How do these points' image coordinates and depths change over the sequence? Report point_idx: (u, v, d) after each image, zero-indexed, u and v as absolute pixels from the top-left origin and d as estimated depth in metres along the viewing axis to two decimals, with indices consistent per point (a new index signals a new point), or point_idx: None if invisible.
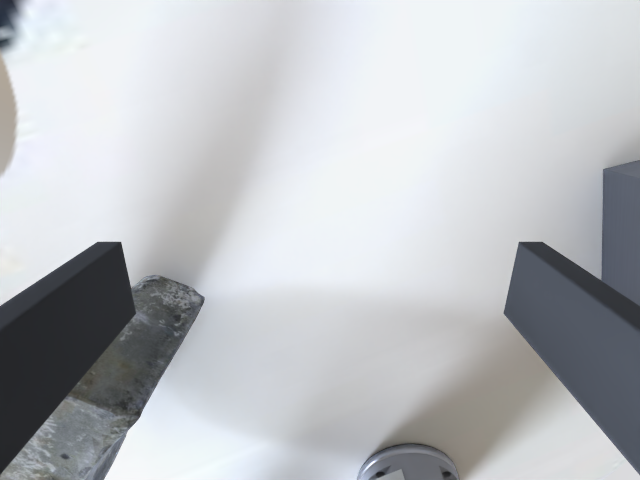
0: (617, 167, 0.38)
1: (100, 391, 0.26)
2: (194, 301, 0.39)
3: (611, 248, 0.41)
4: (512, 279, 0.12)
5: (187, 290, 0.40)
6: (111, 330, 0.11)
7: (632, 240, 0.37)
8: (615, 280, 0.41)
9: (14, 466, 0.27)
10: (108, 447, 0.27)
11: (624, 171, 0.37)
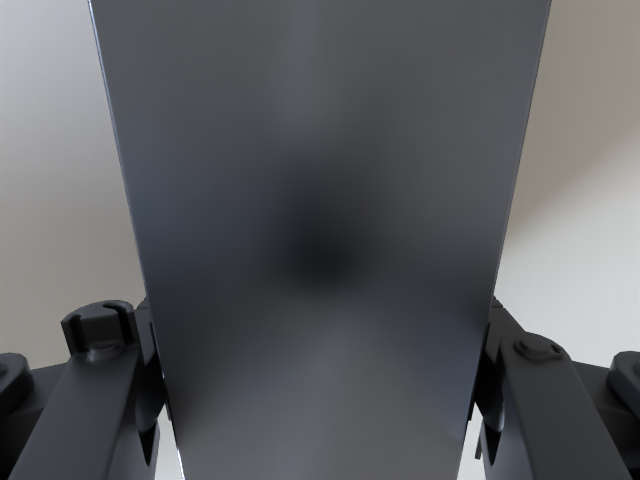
0: None
1: None
2: None
3: None
4: None
5: None
6: None
7: None
8: None
9: None
10: None
11: None
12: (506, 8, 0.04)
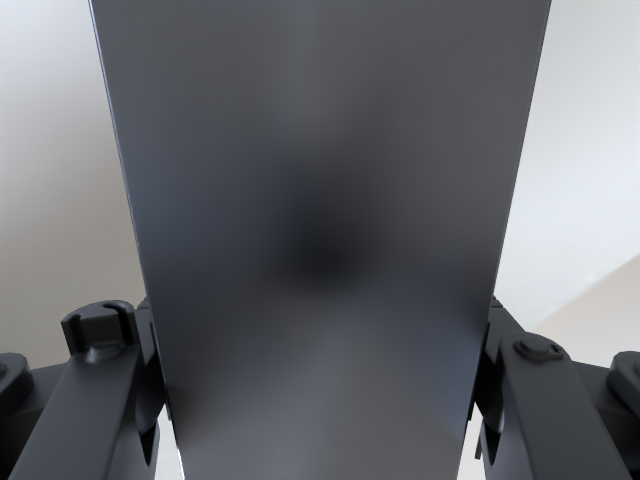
0: None
1: None
2: None
3: None
4: None
5: None
6: None
7: None
8: None
9: None
10: None
11: None
12: (506, 8, 0.04)
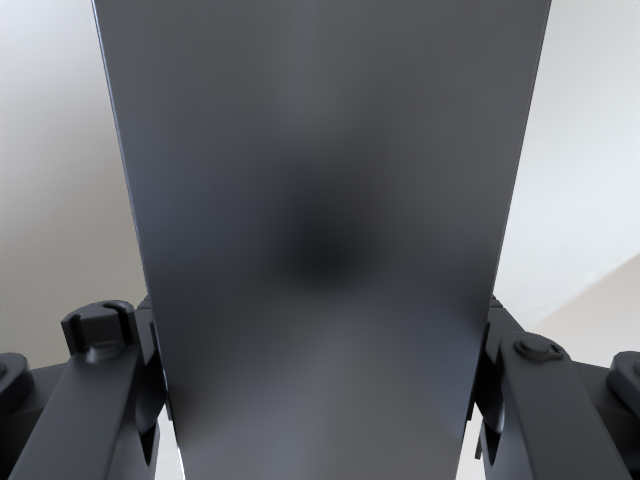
0: None
1: None
2: None
3: None
4: None
5: None
6: None
7: None
8: None
9: None
10: None
11: None
12: (506, 8, 0.04)
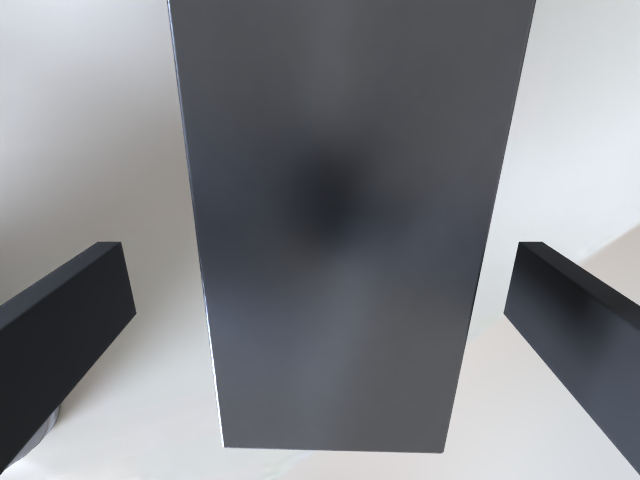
0: None
1: None
2: None
3: None
4: (512, 279, 0.12)
5: None
6: (111, 329, 0.11)
7: None
8: None
9: None
10: None
11: None
12: None
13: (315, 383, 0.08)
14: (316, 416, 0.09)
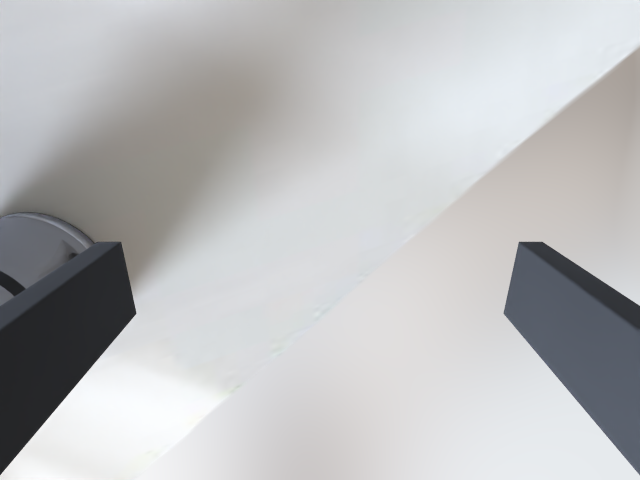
0: None
1: None
2: None
3: None
4: (512, 279, 0.12)
5: None
6: (111, 329, 0.11)
7: None
8: None
9: None
10: None
11: None
12: None
13: None
14: None
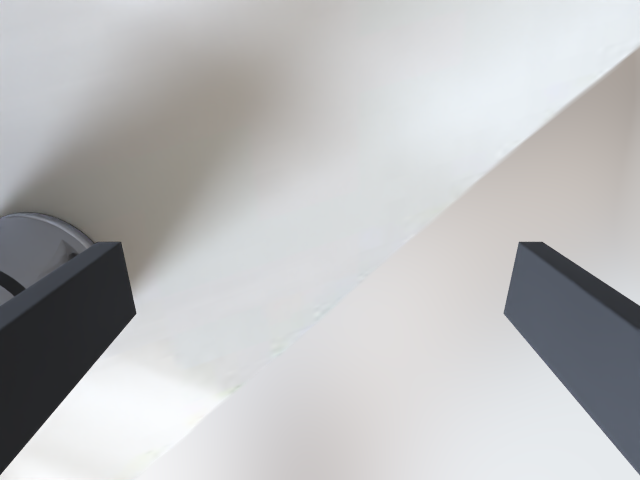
0: None
1: None
2: None
3: None
4: (512, 279, 0.12)
5: None
6: (111, 329, 0.11)
7: None
8: None
9: None
10: None
11: None
12: None
13: None
14: None
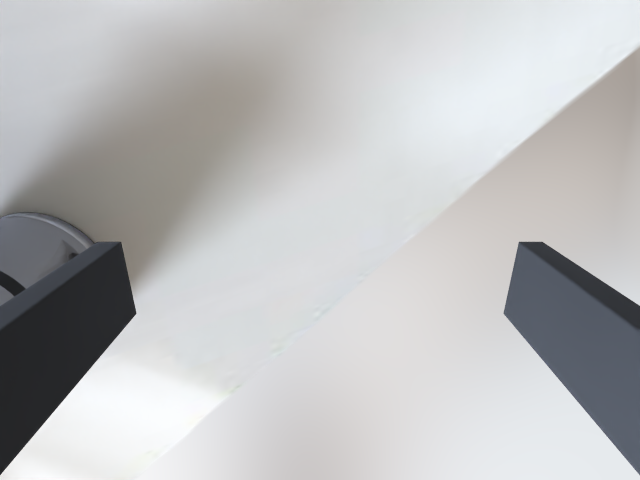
0: None
1: None
2: None
3: None
4: (512, 279, 0.12)
5: None
6: (111, 329, 0.11)
7: None
8: None
9: None
10: None
11: None
12: None
13: None
14: None
